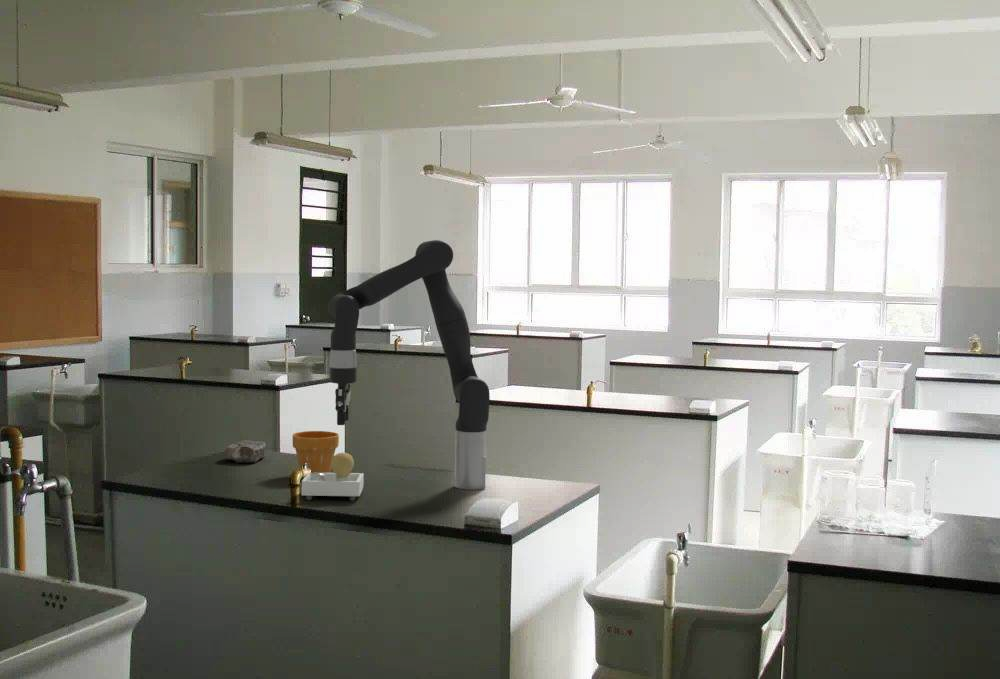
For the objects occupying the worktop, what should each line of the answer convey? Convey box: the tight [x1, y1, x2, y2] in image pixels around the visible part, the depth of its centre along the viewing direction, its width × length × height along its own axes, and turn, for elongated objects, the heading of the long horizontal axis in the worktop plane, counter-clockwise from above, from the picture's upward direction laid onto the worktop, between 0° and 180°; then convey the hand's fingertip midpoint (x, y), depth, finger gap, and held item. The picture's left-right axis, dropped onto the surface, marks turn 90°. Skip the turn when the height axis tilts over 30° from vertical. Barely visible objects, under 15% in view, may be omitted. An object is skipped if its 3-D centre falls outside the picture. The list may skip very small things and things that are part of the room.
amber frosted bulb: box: [331, 452, 355, 481], centre depth 285 cm, size 6×6×10 cm
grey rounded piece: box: [310, 472, 325, 481], centre depth 284 cm, size 4×4×4 cm
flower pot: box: [292, 430, 340, 473], centre depth 312 cm, size 14×14×13 cm
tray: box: [301, 472, 365, 502], centre depth 284 cm, size 16×12×6 cm
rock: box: [223, 439, 267, 464], centre depth 335 cm, size 13×6×15 cm
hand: (342, 422), depth 283 cm, fingers open, 8 cm apart
